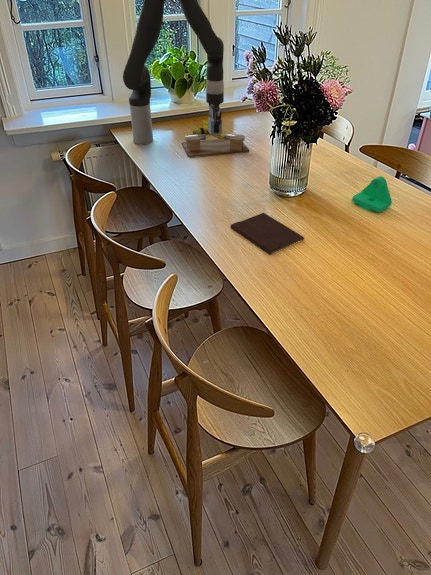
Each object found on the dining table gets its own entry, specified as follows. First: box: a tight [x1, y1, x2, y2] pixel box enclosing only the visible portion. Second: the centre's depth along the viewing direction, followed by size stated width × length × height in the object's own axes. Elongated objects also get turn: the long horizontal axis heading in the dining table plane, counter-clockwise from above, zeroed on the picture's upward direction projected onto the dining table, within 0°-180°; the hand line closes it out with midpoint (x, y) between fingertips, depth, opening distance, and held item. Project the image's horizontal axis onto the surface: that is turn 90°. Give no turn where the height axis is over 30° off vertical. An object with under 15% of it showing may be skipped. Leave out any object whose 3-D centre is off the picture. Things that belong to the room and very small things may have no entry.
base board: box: [181, 133, 250, 158], centre depth 204 cm, size 16×28×6 cm, turn 104°
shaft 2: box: [223, 133, 246, 142], centre depth 201 cm, size 2×9×2 cm, turn 79°
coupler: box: [207, 117, 223, 136], centre depth 199 cm, size 5×5×6 cm
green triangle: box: [351, 175, 393, 213], centre depth 160 cm, size 12×8×10 cm, turn 42°
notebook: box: [230, 212, 305, 256], centre depth 148 cm, size 15×20×2 cm
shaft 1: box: [184, 133, 207, 142], centre depth 201 cm, size 2×9×2 cm, turn 104°
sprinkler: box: [192, 119, 224, 139], centre depth 219 cm, size 19×4×15 cm
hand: (215, 130), depth 200 cm, fingers closed on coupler, 5 cm apart
